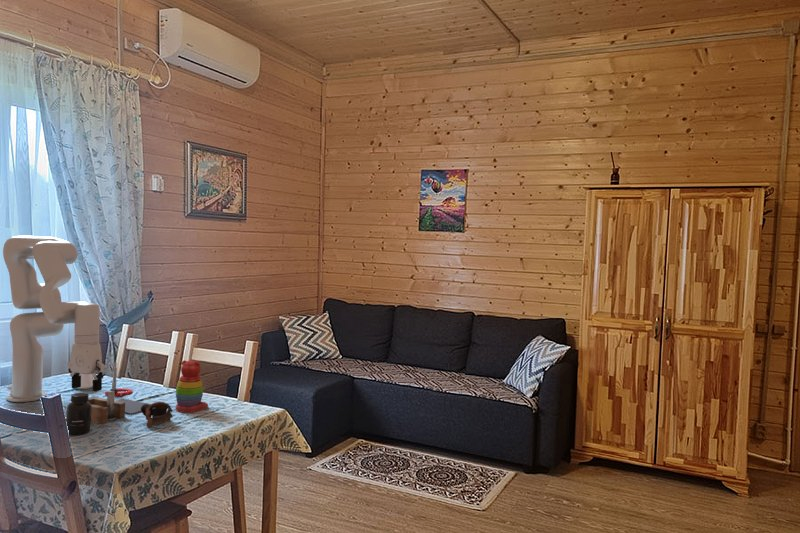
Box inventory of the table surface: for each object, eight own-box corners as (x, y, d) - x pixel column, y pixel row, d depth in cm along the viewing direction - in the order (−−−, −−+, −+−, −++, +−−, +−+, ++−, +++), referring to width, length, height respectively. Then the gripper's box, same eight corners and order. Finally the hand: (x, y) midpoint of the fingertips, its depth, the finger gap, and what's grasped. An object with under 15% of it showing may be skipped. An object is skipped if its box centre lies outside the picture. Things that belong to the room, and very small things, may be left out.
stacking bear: (209, 406, 218) (211, 359, 218) (196, 414, 208) (198, 364, 208) (182, 404, 220) (184, 356, 219) (168, 411, 210) (169, 362, 209)
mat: (95, 407, 210) (95, 406, 210) (122, 399, 221) (122, 398, 221) (131, 414, 204) (131, 413, 204) (157, 406, 215) (157, 405, 215)
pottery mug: (179, 421, 201) (179, 404, 197) (161, 441, 193) (160, 423, 189) (149, 409, 203) (148, 392, 199) (130, 428, 195) (128, 410, 191)
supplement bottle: (73, 437, 179) (74, 398, 179) (61, 432, 183) (62, 394, 182) (95, 432, 185) (96, 394, 184) (83, 427, 189) (84, 390, 188)
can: (78, 390, 231) (79, 360, 231) (70, 387, 236) (71, 357, 235) (96, 387, 237) (97, 358, 236) (89, 384, 241) (89, 355, 241)
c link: (70, 417, 198) (71, 402, 198) (93, 410, 207) (93, 396, 206) (102, 424, 193) (103, 409, 193) (124, 417, 201) (125, 402, 201)
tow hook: (117, 390, 236) (102, 395, 227) (119, 358, 236) (104, 361, 227) (136, 392, 234) (122, 397, 225) (138, 360, 235) (124, 363, 225)
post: (101, 420, 197) (102, 391, 196) (110, 417, 200) (111, 389, 200) (109, 422, 195) (110, 393, 195) (119, 419, 199) (119, 391, 198)
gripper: (58, 339, 201) (58, 388, 201) (96, 342, 194) (96, 394, 195) (78, 336, 208) (77, 384, 208) (115, 339, 201) (114, 389, 202)
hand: (86, 389), depth 201 cm, fingers open, 9 cm apart
